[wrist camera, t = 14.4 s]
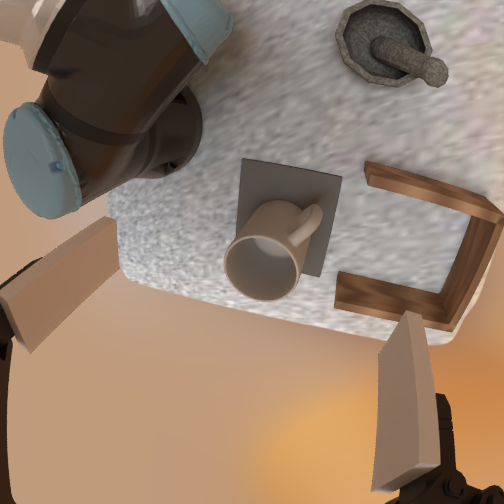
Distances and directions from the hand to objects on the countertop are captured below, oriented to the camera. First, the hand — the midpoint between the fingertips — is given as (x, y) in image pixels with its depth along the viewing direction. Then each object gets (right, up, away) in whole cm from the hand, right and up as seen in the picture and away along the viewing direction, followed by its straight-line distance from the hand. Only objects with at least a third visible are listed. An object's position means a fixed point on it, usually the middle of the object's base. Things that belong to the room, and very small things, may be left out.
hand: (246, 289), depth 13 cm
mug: (+5, +6, +29) cm, 30 cm away
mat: (+5, +6, +29) cm, 30 cm away
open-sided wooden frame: (+22, +3, +25) cm, 33 cm away
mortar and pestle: (+15, +25, +15) cm, 33 cm away
